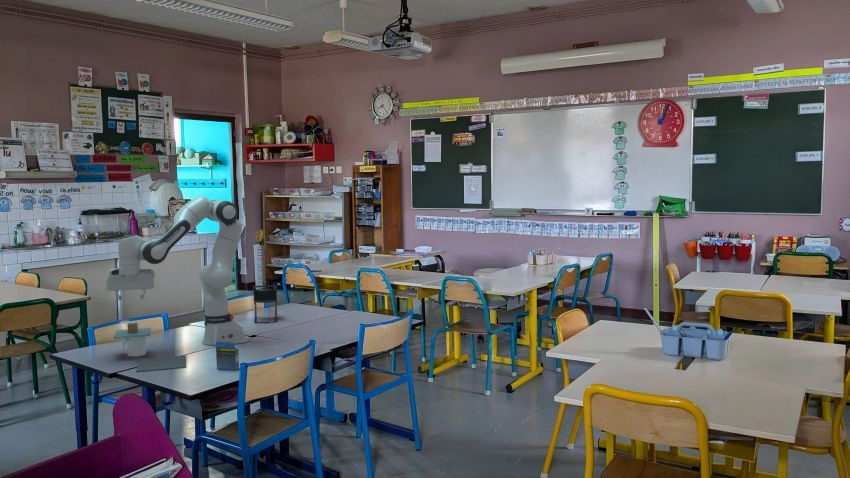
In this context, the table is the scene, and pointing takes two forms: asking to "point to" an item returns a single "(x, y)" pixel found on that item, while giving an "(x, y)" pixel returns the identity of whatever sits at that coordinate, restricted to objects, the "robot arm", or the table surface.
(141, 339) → the mug
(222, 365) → the label tape cartridge
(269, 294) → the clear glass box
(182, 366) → the mat
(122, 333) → the lid
